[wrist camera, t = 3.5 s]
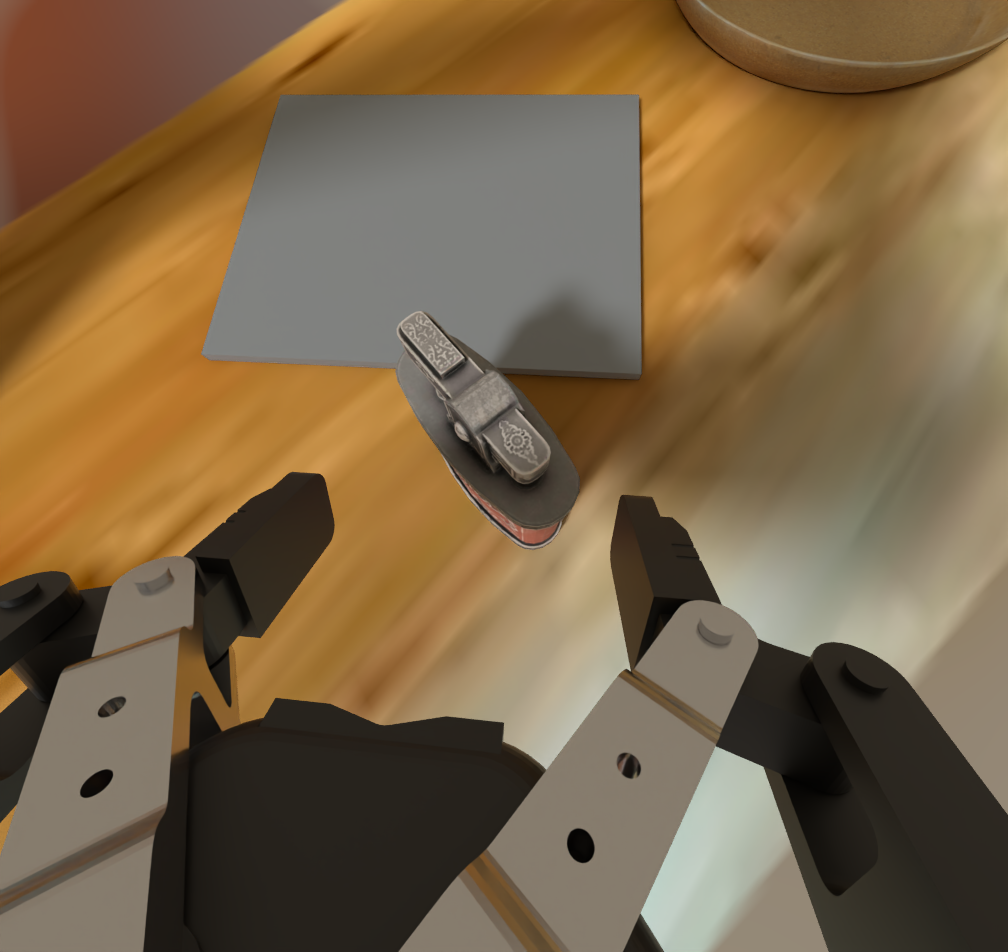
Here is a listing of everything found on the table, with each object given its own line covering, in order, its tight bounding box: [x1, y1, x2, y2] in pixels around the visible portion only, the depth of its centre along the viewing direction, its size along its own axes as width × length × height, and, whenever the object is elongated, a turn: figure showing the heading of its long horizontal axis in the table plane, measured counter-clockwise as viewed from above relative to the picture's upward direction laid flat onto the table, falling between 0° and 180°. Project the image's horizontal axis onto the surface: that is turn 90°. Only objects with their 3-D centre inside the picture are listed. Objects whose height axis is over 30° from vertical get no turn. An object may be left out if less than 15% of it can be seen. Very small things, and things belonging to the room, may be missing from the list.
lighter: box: [396, 311, 580, 550], centre depth 16 cm, size 8×3×10 cm, turn 39°
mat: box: [201, 95, 642, 380], centre depth 25 cm, size 24×20×1 cm
